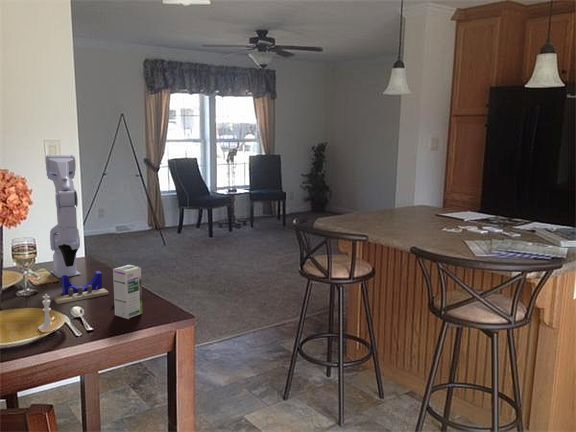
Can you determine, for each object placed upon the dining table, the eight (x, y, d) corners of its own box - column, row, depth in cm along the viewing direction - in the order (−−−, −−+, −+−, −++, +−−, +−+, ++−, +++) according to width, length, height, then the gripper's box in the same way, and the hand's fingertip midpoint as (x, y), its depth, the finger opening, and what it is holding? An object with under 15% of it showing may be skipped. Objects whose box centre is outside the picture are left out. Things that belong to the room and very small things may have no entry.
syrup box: (127, 319, 149) (126, 271, 147) (114, 315, 152) (112, 267, 150) (142, 313, 154) (141, 266, 152) (129, 309, 157) (128, 263, 155)
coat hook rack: (53, 300, 163) (53, 291, 163) (104, 291, 173) (103, 282, 173) (57, 303, 160) (57, 294, 160) (108, 294, 170) (108, 285, 170)
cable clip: (65, 296, 167) (64, 279, 166) (62, 293, 171) (61, 275, 170) (103, 291, 174) (102, 274, 173) (100, 287, 178) (99, 270, 177)
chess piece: (41, 325, 143) (40, 291, 141) (60, 325, 144) (58, 291, 142) (34, 332, 138) (32, 297, 137) (53, 332, 139) (52, 297, 137)
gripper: (48, 223, 175) (50, 262, 177) (61, 231, 164) (63, 272, 166) (70, 221, 179) (71, 259, 182) (84, 229, 168) (85, 269, 171)
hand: (69, 265), depth 174 cm, fingers closed
